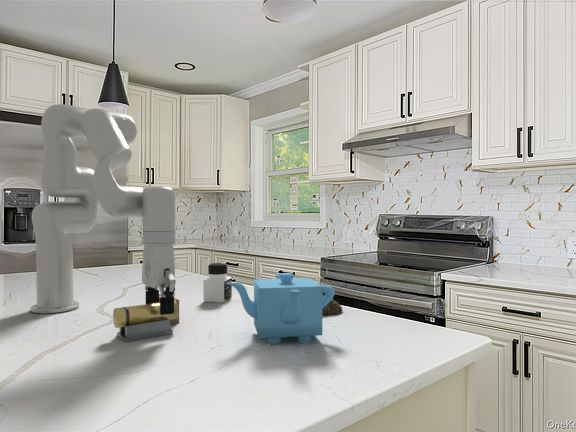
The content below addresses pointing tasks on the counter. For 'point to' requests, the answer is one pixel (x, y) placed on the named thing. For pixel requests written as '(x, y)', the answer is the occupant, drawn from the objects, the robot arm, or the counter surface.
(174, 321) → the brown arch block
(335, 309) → the bread roll
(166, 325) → the cradle
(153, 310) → the axle
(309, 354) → the counter surface
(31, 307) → the robot arm
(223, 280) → the medicine bottle
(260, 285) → the teakettle
